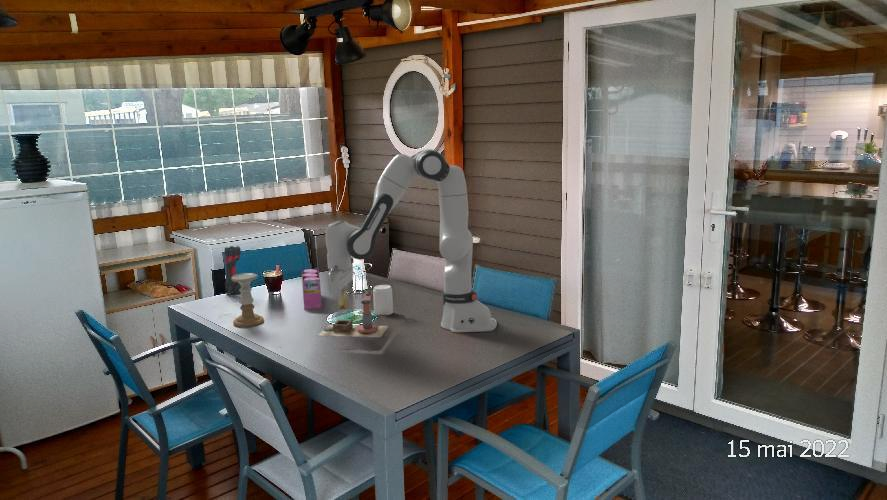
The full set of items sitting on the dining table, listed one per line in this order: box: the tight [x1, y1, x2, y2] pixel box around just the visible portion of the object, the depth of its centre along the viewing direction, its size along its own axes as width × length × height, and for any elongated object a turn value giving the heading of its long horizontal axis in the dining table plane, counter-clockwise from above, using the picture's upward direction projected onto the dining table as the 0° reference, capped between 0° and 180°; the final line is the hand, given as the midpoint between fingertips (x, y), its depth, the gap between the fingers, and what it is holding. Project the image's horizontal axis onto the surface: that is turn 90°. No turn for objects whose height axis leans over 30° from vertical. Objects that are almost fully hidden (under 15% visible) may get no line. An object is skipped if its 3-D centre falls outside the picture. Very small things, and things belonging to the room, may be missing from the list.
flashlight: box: [224, 245, 242, 296], centre depth 312 cm, size 8×8×23 cm
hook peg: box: [337, 290, 348, 310], centre depth 250 cm, size 3×3×7 cm
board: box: [317, 323, 390, 338], centre depth 251 cm, size 25×13×2 cm, turn 81°
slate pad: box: [322, 326, 333, 331], centre depth 253 cm, size 4×4×1 cm
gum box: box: [301, 267, 322, 311], centre depth 295 cm, size 24×8×14 cm, turn 12°
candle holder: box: [231, 272, 265, 328], centre depth 266 cm, size 12×12×20 cm
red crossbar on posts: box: [357, 292, 379, 333], centre depth 253 cm, size 15×8×12 cm, turn 3°
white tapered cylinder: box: [372, 284, 394, 316], centre depth 274 cm, size 8×8×12 cm
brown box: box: [332, 319, 354, 333], centre depth 252 cm, size 6×6×3 cm
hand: (342, 297), depth 250 cm, fingers closed on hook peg, 3 cm apart
